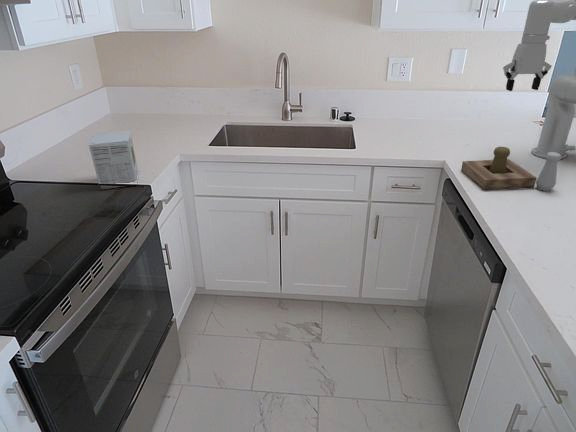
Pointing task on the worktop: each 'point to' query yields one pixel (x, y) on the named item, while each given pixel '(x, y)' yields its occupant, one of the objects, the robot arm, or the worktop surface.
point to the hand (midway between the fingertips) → (521, 89)
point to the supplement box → (114, 157)
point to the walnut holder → (498, 175)
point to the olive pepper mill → (499, 160)
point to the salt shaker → (548, 172)
